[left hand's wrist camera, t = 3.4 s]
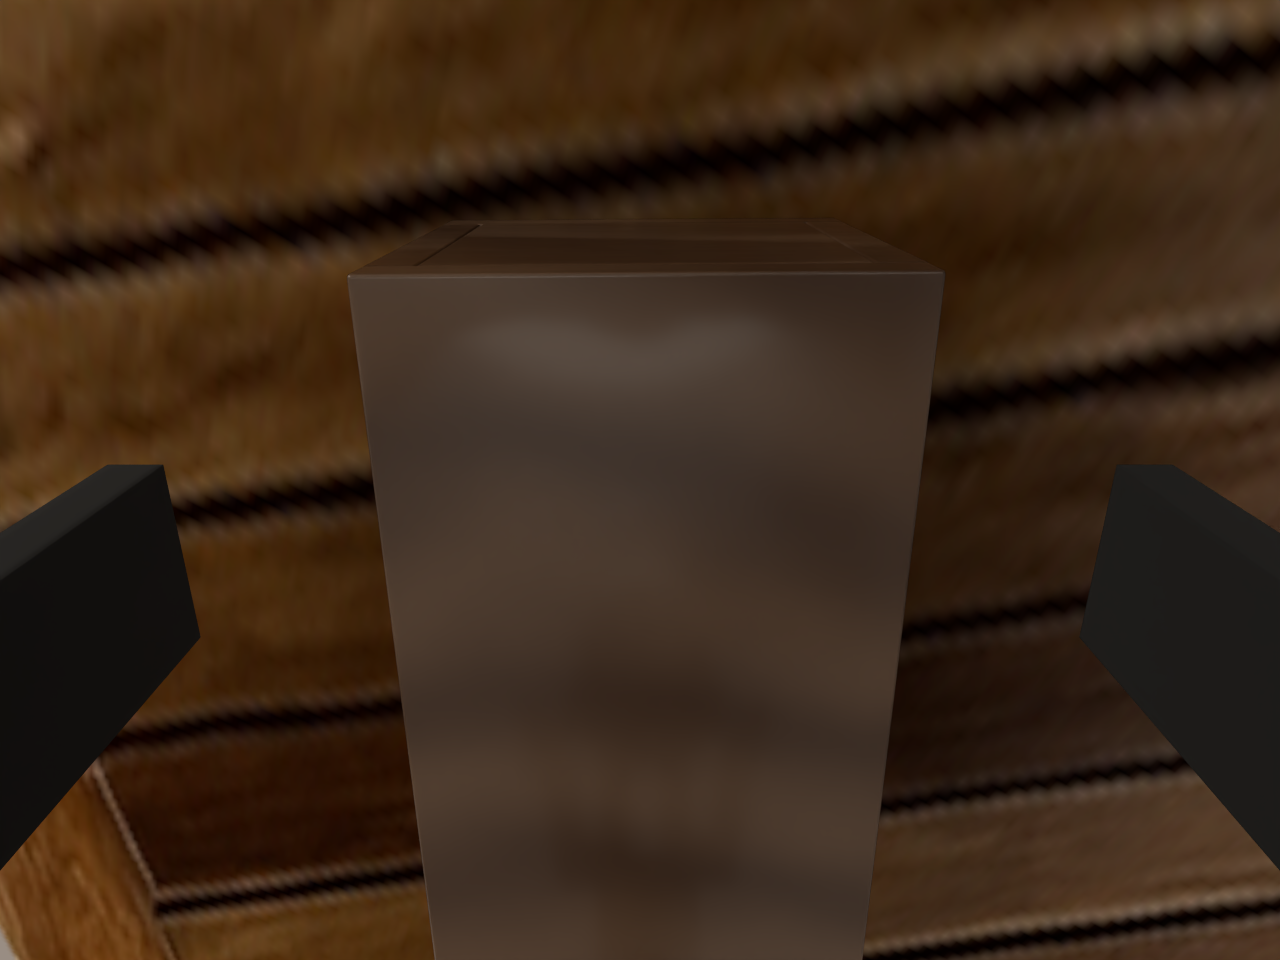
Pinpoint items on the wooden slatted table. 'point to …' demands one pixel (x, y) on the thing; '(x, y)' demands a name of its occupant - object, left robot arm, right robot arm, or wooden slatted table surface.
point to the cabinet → (647, 573)
